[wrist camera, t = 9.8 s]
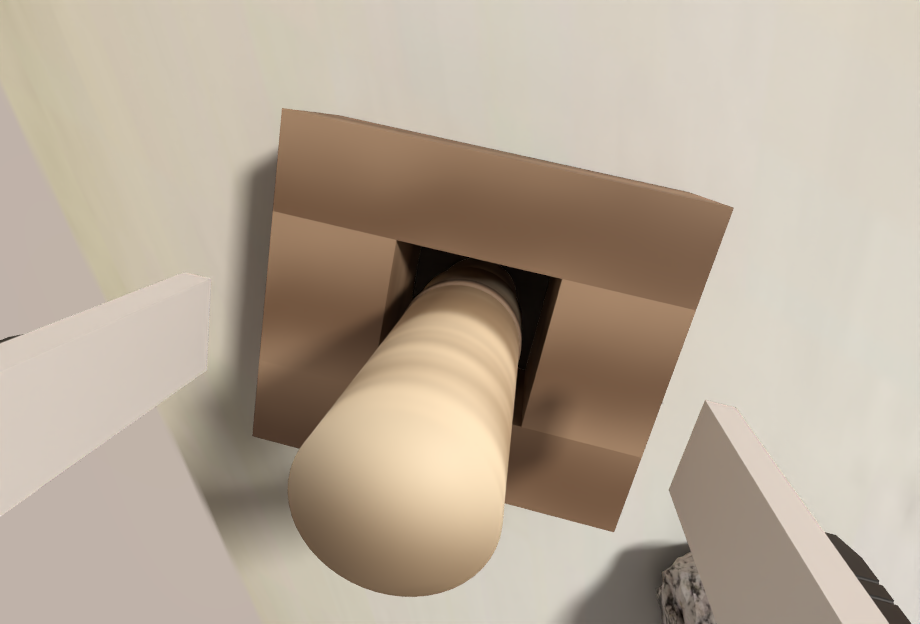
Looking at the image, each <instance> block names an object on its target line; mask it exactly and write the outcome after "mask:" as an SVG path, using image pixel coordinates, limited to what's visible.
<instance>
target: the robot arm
mask: <svg viewBox="0 0 920 624" xmlns="http://www.w3.org/2000/svg"><path fill="white" fill-rule="evenodd" d="M210 295H211V278H207V277H203V276H199V275H195V274H191V273H187V272H183V273H180V274H178V275H175V276H173V277H170V278H167V279H165V280H162V281H160V282H157V283H155V284H152V285H149V286H147V287H144V288H142V289H139V290H136V291H134V292H131V293H129V294H126V295H124V296H121V297H118V298H116V299H113V300H111V301H108V302H106V303H103V304H100V305H98V306H95V307H93V308H90V309H88V310H85V311H82V312H80V313H77V314H75V315H72V316H70V317H67V318H64V319H62V320H59V321H57V322H54V323H51V324H49V325H46V326H44V327H41V328H39V329H36V330H33V331H31V332H28V333H26V334H22V335H17V336H12V337H8V338H5V339H3V340H0V516H2V515H3V514H4V513H6V512H7V511H9V510H10V509H11V508H13V507H14V506H16V505H17V504H19V503H20V502H21V501H23V500H24V499H26V498H27V497H29V496H30V495H31V494H33V493H34V492H36V491H37V490H38V489H40V488H41V487H43V486H44V485H45V484H47V483H48V482H50V481H51V480H53V479H54V478H55V477H56V476H58V475H59V474H61V473H62V472H64V471H65V470H66V469H68V468H69V467H71V466H72V465H74V464H75V463H77V462H78V461H79V460H81V459H82V458H84V457H85V456H86V455H88V454H89V453H91V452H92V451H94V450H95V449H96V448H98V447H99V446H101V445H102V444H103V443H105V442H106V441H108V440H109V439H110V438H112V437H113V436H115V435H116V434H118V433H119V432H120V431H122V430H123V429H124V428H126V427H127V426H129V425H130V424H131V423H133V422H134V421H136V420H137V419H139V418H140V417H142V416H143V415H144V414H146V413H147V412H148V411H150V410H151V409H153V408H154V407H156V406H157V405H159V404H160V403H161V402H163V401H164V400H166V399H167V398H168V397H170V396H171V395H173V394H174V393H175V392H177V391H178V390H180V389H181V388H183V387H184V386H185V385H187V384H188V383H190V382H191V381H192V380H194V379H195V378H197V377H198V376H199V375H201V374H202V373H204V372H205V371H207V357H208V336H209V316H210ZM669 492H670V494H671V497H672V500H673V503H674V506H675V508H676V511H677V514H678V517H679V520H680V522H681V525H682V528H683V531H684V534H685V536H686V539H687V542H688V545H689V548H690V550H691V553H692V556H693V559H694V562H695V564H696V567H697V570H698V573H699V576H700V578H701V581H702V584H703V587H704V590H705V593H706V595H707V598H708V601H709V604H710V607H711V609H712V612H713V615H714V618H715V621H716V623H717V624H911V623H910V621H909V620H908V619H907V617H906V616H905V615H904V613H903V612H902V611H901V609H900V608H899V607H898V606H897V605H894V603H893V602H894V600H893V599H892V597H891V596H890V595H889V593H888V592H887V591H886V589H885V588H884V587H883V586H882V585H879V580H878V579H877V577H876V576H875V575H874V573H873V572H872V571H871V569H870V568H869V567H868V565H867V564H866V563H865V561H864V560H863V559H862V558H861V557H860V556H859V555H858V554H857V553H856V552H855V551H853V550H852V549H851V548H850V547H849V546H848V545H847V544H845V543H844V542H843V541H842V540H841V539H840V538H839V537H837V536H836V535H833V534H829V533H826V532H824V531H823V530H822V528H821V527H820V525H819V524H818V523H817V521H816V520H815V518H814V517H813V515H812V514H811V513H810V511H809V510H808V508H807V507H806V506H805V504H804V503H803V501H802V500H801V499H800V497H799V496H798V494H797V493H796V491H795V490H794V489H793V487H792V486H791V484H790V483H789V482H788V480H787V479H786V477H785V476H784V475H783V473H782V472H781V470H780V469H779V467H778V466H777V465H776V463H775V462H774V460H773V459H772V458H771V456H770V455H769V453H768V452H767V451H766V449H765V448H764V446H763V445H762V443H761V442H760V441H759V439H758V438H757V436H756V435H755V434H754V432H753V431H752V429H751V428H750V427H749V425H748V424H747V422H746V421H745V419H744V418H743V417H742V415H741V414H740V412H739V411H738V410H737V408H736V407H732V406H728V405H724V404H720V403H716V402H711V401H707V400H705V402H704V404H703V407H702V409H701V412H700V414H699V416H698V419H697V421H696V424H695V426H694V429H693V431H692V434H691V436H690V439H689V441H688V444H687V446H686V449H685V451H684V454H683V456H682V458H681V461H680V463H679V466H678V468H677V471H676V473H675V476H674V478H673V481H672V483H671V486H670V488H669Z"/></svg>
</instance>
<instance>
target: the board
mask: <svg viewBox="0 0 920 624" xmlns="http://www.w3.org/2000/svg"><path fill="white" fill-rule="evenodd" d="M732 211H733V207H730V206H727V205H724V204H721V203H718V202H715V201H713V200H710V199H707V198H704V197H701V196H698V195H695V194H692V193H690V192H685V191H681V190H676V189H671V188H667V187H662V186H658V185H653V184H649V183H644V182H640V181H635V180H631V179H626V178H621V177H617V176H612V175H608V174H603V173H599V172H594V171H590V170H585V169H581V168H576V167H571V166H567V165H562V164H558V163H553V162H549V161H544V160H540V159H535V158H530V157H526V156H521V155H517V154H512V153H508V152H503V151H499V150H494V149H490V148H485V147H480V146H476V145H471V144H467V143H462V142H458V141H453V140H449V139H444V138H439V137H435V136H430V135H426V134H421V133H417V132H412V131H408V130H403V129H399V128H394V127H389V126H385V125H380V124H376V123H371V122H367V121H362V120H358V119H353V118H349V117H344V116H339V115H332V114H324V113H316V112H308V111H300V110H292V109H284V108H282V115H281V126H280V137H279V148H278V159H277V170H276V181H275V192H274V203H273V214H272V225H271V236H270V247H269V258H268V269H267V280H266V291H265V302H264V314H263V325H262V336H261V347H260V358H259V369H258V380H257V391H256V402H255V413H254V424H253V435H252V436H254V437H258V438H262V439H265V440H269V441H273V442H277V443H280V444H284V445H288V446H292V447H295V448H299V449H300V447H301V446H302V445H303V443H304V442H305V441H306V440H307V438H308V437H309V436H310V434H311V433H312V432H313V431H314V429H315V428H316V427H317V425H318V424H319V423H320V422H321V420H322V419H323V418H324V416H325V415H326V414H327V413H328V411H329V410H330V409H331V407H332V406H333V405H334V404H335V402H336V401H337V400H338V398H339V397H340V396H341V395H342V393H343V392H344V391H345V389H346V388H347V387H348V386H349V384H350V383H351V382H352V380H353V379H354V378H355V377H356V375H357V374H358V373H359V371H360V370H361V369H362V368H363V366H364V365H365V364H366V362H367V361H368V360H369V359H370V357H371V356H372V355H373V353H374V352H375V351H376V350H377V348H378V347H379V346H380V344H381V343H382V342H383V341H384V339H385V338H386V337H387V335H388V334H389V333H390V332H391V330H392V329H393V328H394V326H395V325H396V324H397V323H398V321H399V320H400V319H401V317H402V316H403V314H404V312H405V310H406V309H407V307H408V306H409V305H410V303H411V301H412V296H413V290H414V285H415V280H416V274H417V269H418V263H419V258H420V253H421V247H422V246H424V247H428V248H432V249H437V250H441V251H445V252H449V253H454V254H458V255H462V256H466V257H471V258H475V259H479V260H483V261H488V262H492V263H496V264H500V265H505V266H509V267H513V268H518V269H522V270H526V271H530V272H535V273H539V274H543V275H547V276H550V279H549V283H548V287H547V290H546V294H545V298H544V302H543V305H542V309H541V313H540V316H539V320H538V324H537V328H536V331H535V335H534V339H533V342H532V346H531V350H530V354H529V357H528V361H527V365H526V368H525V370H523V369H519V368H518V369H517V379H516V390H515V400H514V410H513V420H512V431H511V441H510V451H509V462H508V472H507V482H506V493H505V503H506V504H510V505H514V506H517V507H521V508H525V509H529V510H532V511H536V512H540V513H544V514H547V515H551V516H555V517H559V518H562V519H566V520H570V521H574V522H577V523H581V524H585V525H589V526H592V527H596V528H600V529H604V530H608V531H611V532H614V531H615V528H616V525H617V523H618V520H619V517H620V514H621V512H622V509H623V506H624V504H625V501H626V498H627V496H628V493H629V490H630V487H631V485H632V482H633V479H634V477H635V474H636V471H637V468H638V466H639V463H640V460H641V458H642V455H643V452H644V449H645V447H646V444H647V441H648V439H649V436H650V433H651V431H652V428H653V425H654V422H655V420H656V417H657V414H658V412H659V409H660V406H661V403H662V401H663V398H664V395H665V393H666V390H667V387H668V384H669V382H670V379H671V376H672V374H673V371H674V368H675V366H676V363H677V360H678V357H679V355H680V352H681V349H682V347H683V344H684V341H685V338H686V336H687V333H688V330H689V328H690V325H691V322H692V320H693V317H694V314H695V311H696V309H697V306H698V303H699V301H700V298H701V295H702V292H703V290H704V287H705V284H706V282H707V279H708V276H709V273H710V271H711V268H712V265H713V263H714V260H715V257H716V255H717V252H718V249H719V246H720V244H721V241H722V238H723V236H724V233H725V230H726V227H727V225H728V222H729V219H730V217H731V214H732Z"/></svg>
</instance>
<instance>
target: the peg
mask: <svg viewBox="0 0 920 624" xmlns="http://www.w3.org/2000/svg"><path fill="white" fill-rule="evenodd" d="M521 328H522V313H521V308H520V304H519V302H518V299H517V291H516V287H515V284H514V281H513V280H512V278H511V276H510V275H509V273H508V272H507V271H506V270H505V269H504V268H503V267H501V266H500V265H499V264H496V263H492V262H488V261H483V260H479V259H475V258H469V259H465V260H462V261H459V262H458V263H456V264H454V265H453V266H451V267H450V268H449V269H448V270H447V271H444V272H443V273H441V274H439V275H437V276H436V277H435V278H433V279H432V280H431V281H430V282H429V283H428V284H427V285H426V287H425V288H424V289H423V291H422V292H420V293H419V294H418V295H417V296H416V297H415V298H414V300H413V301H412V302H411V303H410V305H409V306H408V307H407V309H406V310H405V312H404V314H403V316H402V317H401V319H400V320H399V321H398V323H397V324H396V325H395V326H394V328H393V329H392V330H391V332H390V333H389V334H388V335H387V337H386V338H385V339H384V341H383V342H382V343H381V344H380V346H379V347H378V348H377V350H376V351H375V352H374V353H373V355H372V356H371V357H370V359H369V360H368V361H367V362H366V364H365V365H364V366H363V368H362V369H361V370H360V371H359V373H358V374H357V375H356V377H355V378H354V379H353V380H352V382H351V383H350V384H349V386H348V387H347V388H346V389H345V391H344V392H343V393H342V395H341V396H340V397H339V398H338V400H337V401H336V402H335V404H334V405H333V406H332V407H331V409H330V410H329V411H328V413H327V414H326V415H325V416H324V418H323V419H322V420H321V422H320V423H319V424H318V425H317V427H316V428H315V429H314V431H313V432H312V433H311V434H310V436H309V437H308V438H307V440H306V441H305V442H304V443H303V445H302V446H301V447H300V449H299V451H298V453H297V454H296V456H295V458H294V461H293V463H292V466H291V469H290V474H289V479H288V500H289V506H290V510H291V514H292V517H293V520H294V522H295V525H296V528H297V529H298V531H299V533H300V535H301V537H302V538H303V540H304V541H305V543H306V544H307V545H308V547H309V548H310V550H311V551H312V552H313V553H314V554H315V555H316V556H317V557H318V558H319V559H320V560H321V561H322V562H323V563H324V564H325V565H326V566H327V567H329V568H330V569H331V570H333V571H334V572H335V573H337V574H338V575H340V576H341V577H343V578H345V579H347V580H348V581H350V582H352V583H354V584H356V585H359V586H361V587H363V588H366V589H369V590H372V591H375V592H379V593H383V594H387V595H394V596H405V597H417V596H428V595H433V594H437V593H442V592H444V591H447V590H450V589H453V588H455V587H457V586H459V585H461V584H463V583H465V582H466V581H468V580H469V579H470V578H472V577H473V576H475V575H476V574H477V573H478V572H479V571H480V570H481V569H482V568H483V567H484V566H485V564H486V563H487V562H488V561H489V559H490V558H491V556H492V554H493V553H494V551H495V549H496V547H497V544H498V541H499V539H500V535H501V530H502V524H503V513H504V503H505V493H506V482H507V472H508V462H509V451H510V441H511V431H512V420H513V410H514V400H515V390H516V379H517V369H518V361H519V358H520V353H521V342H522V335H521Z"/></svg>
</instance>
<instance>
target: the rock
mask: <svg viewBox="0 0 920 624" xmlns="http://www.w3.org/2000/svg"><path fill="white" fill-rule="evenodd" d="M662 579H663V584H662V586H660V587H659V588H656V598H657V600H658V602H659V604H660V608H661V614H662V623H663V624H717V623H716V621H715V618H714V615H713V612H712V609H711V607H710V604H709V601H708V598H707V595H706V593H705V590H704V587H703V584H702V581H701V578H700V576H699V573H698V570H697V567H696V564H695V562H694V559H693V556H692V553H691V552H689V553H686V554H685V555H684V556H682V557H678V558H677V559H676V560H675V562H674V563H673V565H672V566H671V567H670V568H668V569H666V570H665V571H662Z"/></svg>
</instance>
